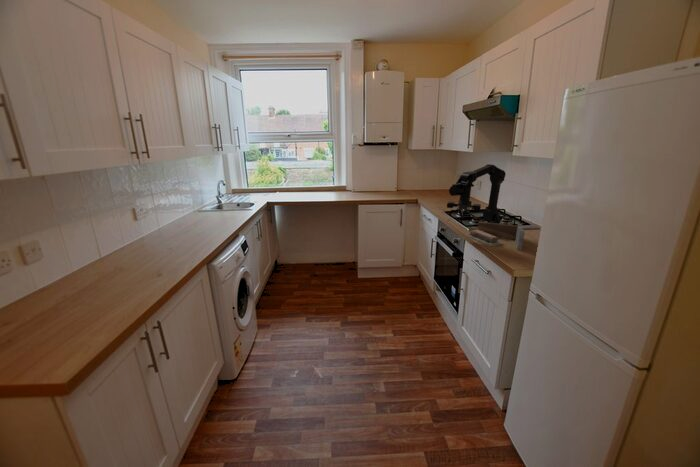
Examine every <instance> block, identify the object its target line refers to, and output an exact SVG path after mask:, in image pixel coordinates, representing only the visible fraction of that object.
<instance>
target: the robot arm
mask: <svg viewBox="0 0 700 467" xmlns="http://www.w3.org/2000/svg"><path fill="white" fill-rule="evenodd" d="M460 174H461V175H459V177H458V179H457V181H456V182H455V183H452V185H451V186H450V188H449V189H448V193H449V195H450V196H452V197H456V196H459V199H458V203H456V202H455V201H448V202H447V203H446V208H447V209H453V208H454V207H455V208H456V211H458V212H459V216H460V220H461V221H463V220H464V218H465V216H466V214H467V212H470V210H471V209H472V210H473V211H478V212H480V211H481V209H482V208H481V207H482V206H481V204H480V203H473V202H472V201H471V191H472V188H473V187H475V185H474V184H473V183H475V182H476V181H477V179H478V178H481V177H483V176H485V175H488V176H489V182H490V184H491V186H490V192H489V193H490V194H489V198H488V199H489V200H488V204H487V207H486V208H484V210H483V214H482V215H483V219H484V220H483V222H488V223H497V224H501V222H502V219H501V217H500V215H499V213H500V211H499V209H498V207H497V206H498V202H499V196H500V189H501V184H502V183H504V181H505V178H506V171H505V170H503V169H501V168H499V167H497V166H496V165H495V164H491V163H490V164H488V163H487V164H486V165H484V166H482V167H479V168H477V169H474V170H471V171H463V172H462V173H460ZM472 203H473V204H472Z"/></svg>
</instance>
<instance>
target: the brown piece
mask: <svg viewBox="0 0 700 467" xmlns="http://www.w3.org/2000/svg"><path fill="white" fill-rule="evenodd" d="M477 229H478V230H481V231H483V232H486V233H488V234H491V235H493V236H496V237H498V238H503V239H510V240H514V242H515V246H516V250H517V251H522V250H523V249H522V248H523V244H524V239H525V234H526V233H525V230H524V227H523V223H517V225H513V224H505V223H504V224H503V223H499V224H497V223H488V222H487V221H478V224H477Z"/></svg>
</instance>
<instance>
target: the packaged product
mask: <svg viewBox="0 0 700 467" xmlns="http://www.w3.org/2000/svg"><path fill="white" fill-rule="evenodd" d="M467 238H469V239H471V240H474V241H477V242H478V243H481V244H483V245H486V246H488V247H494V246H497V245H498V246H499V245H502V244H503V242H502V241H499V240H500V237H496V236H493V235H491V234H488V233H486V232H483V231H481V230H478V228H476V229H472V230H470V232H469V234H467Z"/></svg>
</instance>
